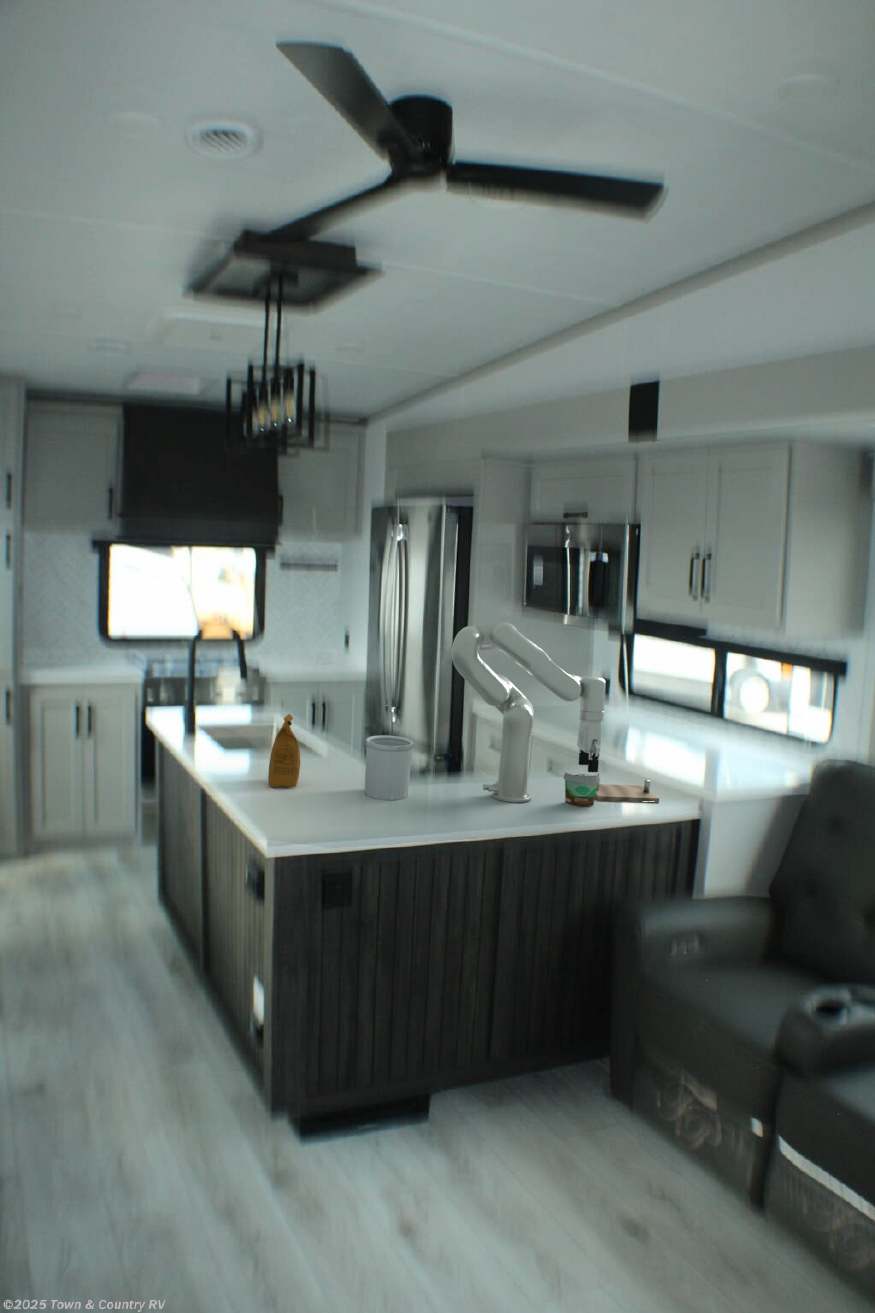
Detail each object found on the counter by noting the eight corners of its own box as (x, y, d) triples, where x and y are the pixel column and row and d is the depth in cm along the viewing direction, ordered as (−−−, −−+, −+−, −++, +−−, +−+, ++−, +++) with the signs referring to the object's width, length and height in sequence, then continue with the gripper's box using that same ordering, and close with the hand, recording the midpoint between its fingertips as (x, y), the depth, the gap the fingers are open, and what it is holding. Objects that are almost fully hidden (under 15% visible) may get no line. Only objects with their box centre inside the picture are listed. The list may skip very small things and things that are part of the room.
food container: (566, 807, 316) (569, 776, 315) (560, 802, 322) (563, 772, 321) (603, 808, 319) (606, 777, 318) (596, 803, 325) (599, 773, 324)
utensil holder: (403, 803, 306) (407, 747, 304) (356, 797, 309) (360, 742, 307) (414, 792, 321) (418, 738, 319) (369, 786, 324) (373, 733, 321)
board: (598, 800, 328) (600, 784, 327) (583, 787, 343) (585, 772, 343) (658, 802, 331) (660, 786, 330) (641, 790, 347) (643, 774, 346)
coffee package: (301, 780, 324) (305, 714, 321) (297, 790, 312) (301, 721, 309) (270, 778, 323) (274, 712, 321) (265, 788, 311) (269, 719, 308)
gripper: (572, 710, 325) (568, 762, 327) (588, 720, 308) (584, 774, 310) (594, 711, 326) (590, 762, 328) (611, 721, 309) (608, 775, 311)
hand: (588, 768), depth 319 cm, fingers open, 9 cm apart
